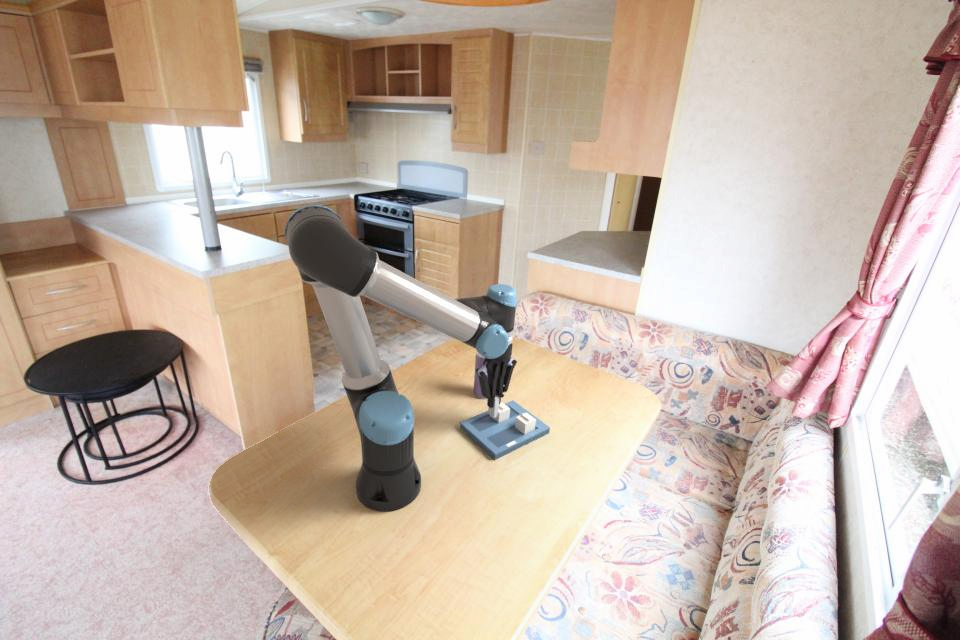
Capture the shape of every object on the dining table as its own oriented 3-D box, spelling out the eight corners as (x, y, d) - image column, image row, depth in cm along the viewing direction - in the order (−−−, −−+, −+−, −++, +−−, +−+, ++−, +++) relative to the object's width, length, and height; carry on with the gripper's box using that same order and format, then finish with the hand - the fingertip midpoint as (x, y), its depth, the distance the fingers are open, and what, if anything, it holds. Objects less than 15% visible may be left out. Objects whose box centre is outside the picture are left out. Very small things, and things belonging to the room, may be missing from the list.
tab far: (498, 423, 133) (499, 411, 131) (490, 415, 136) (490, 404, 134) (509, 418, 135) (510, 406, 133) (500, 411, 138) (501, 400, 136)
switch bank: (495, 460, 121) (495, 453, 120) (459, 427, 132) (460, 421, 132) (549, 433, 132) (550, 427, 132) (512, 405, 144) (513, 399, 143)
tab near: (524, 434, 129) (525, 422, 127) (514, 427, 132) (516, 415, 130) (534, 429, 131) (536, 417, 129) (525, 422, 134) (526, 410, 132)
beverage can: (491, 400, 146) (495, 358, 140) (473, 398, 146) (475, 357, 140) (491, 389, 151) (495, 349, 145) (473, 388, 151) (476, 348, 145)
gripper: (488, 354, 117) (483, 429, 127) (526, 341, 124) (518, 413, 134) (470, 342, 122) (467, 415, 132) (508, 330, 129) (502, 401, 139)
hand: (493, 414), depth 133 cm, fingers closed
